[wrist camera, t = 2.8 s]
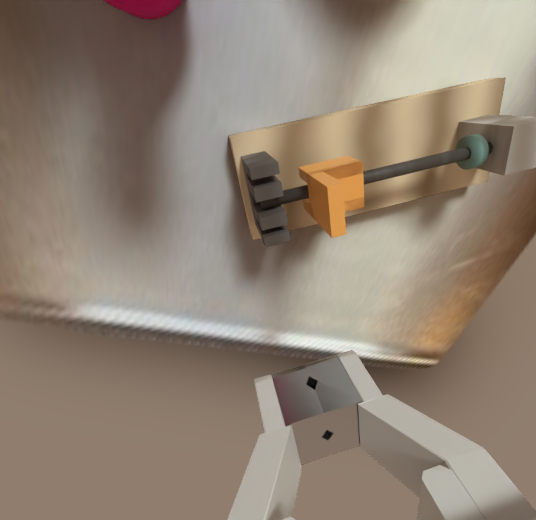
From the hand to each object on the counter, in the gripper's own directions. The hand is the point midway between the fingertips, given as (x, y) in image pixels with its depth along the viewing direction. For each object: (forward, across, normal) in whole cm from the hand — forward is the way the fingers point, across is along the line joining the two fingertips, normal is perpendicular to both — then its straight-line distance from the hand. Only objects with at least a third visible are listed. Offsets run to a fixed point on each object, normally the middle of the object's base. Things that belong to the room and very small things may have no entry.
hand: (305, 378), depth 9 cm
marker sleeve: (+17, -7, 0) cm, 19 cm away
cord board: (+22, -13, 0) cm, 25 cm away
